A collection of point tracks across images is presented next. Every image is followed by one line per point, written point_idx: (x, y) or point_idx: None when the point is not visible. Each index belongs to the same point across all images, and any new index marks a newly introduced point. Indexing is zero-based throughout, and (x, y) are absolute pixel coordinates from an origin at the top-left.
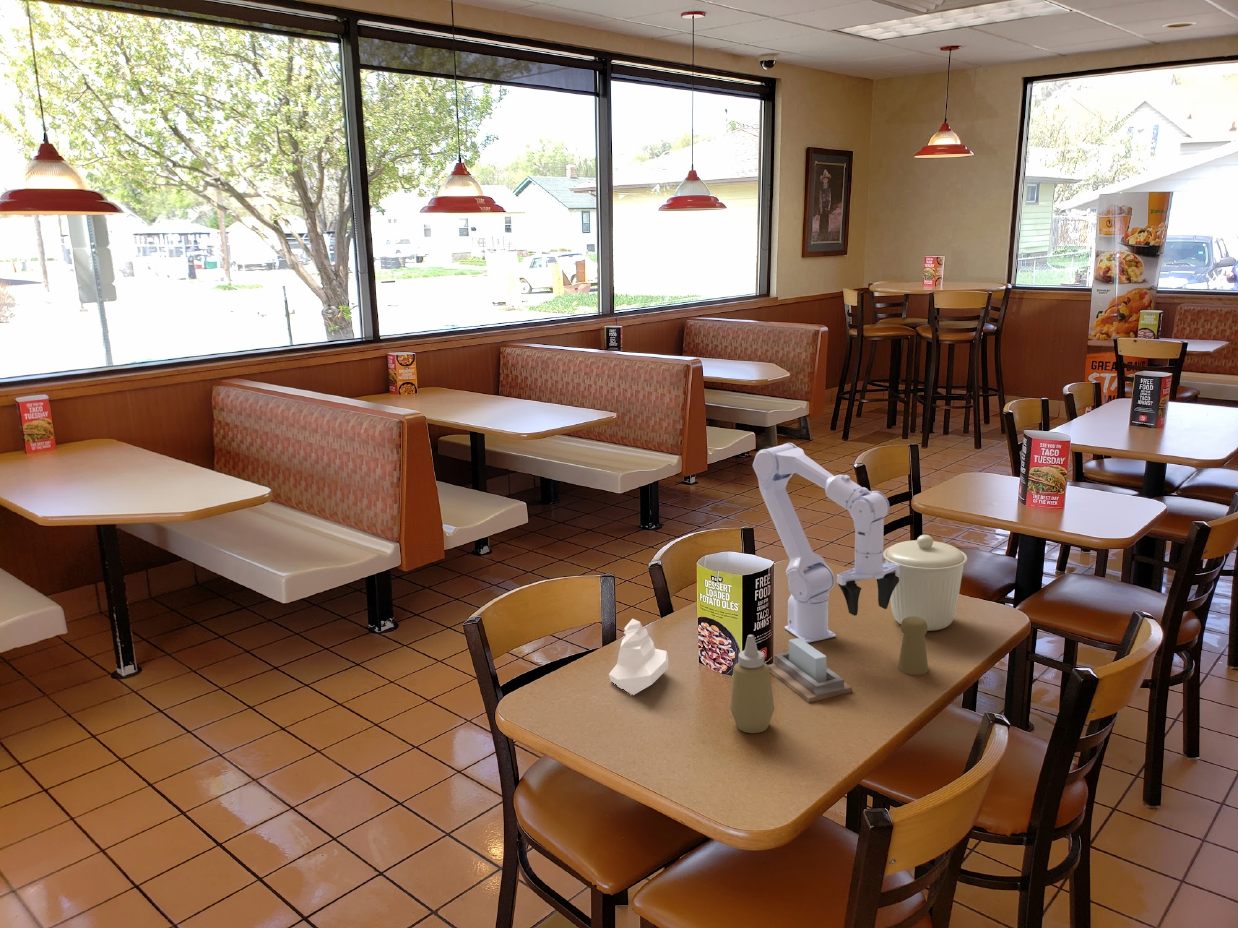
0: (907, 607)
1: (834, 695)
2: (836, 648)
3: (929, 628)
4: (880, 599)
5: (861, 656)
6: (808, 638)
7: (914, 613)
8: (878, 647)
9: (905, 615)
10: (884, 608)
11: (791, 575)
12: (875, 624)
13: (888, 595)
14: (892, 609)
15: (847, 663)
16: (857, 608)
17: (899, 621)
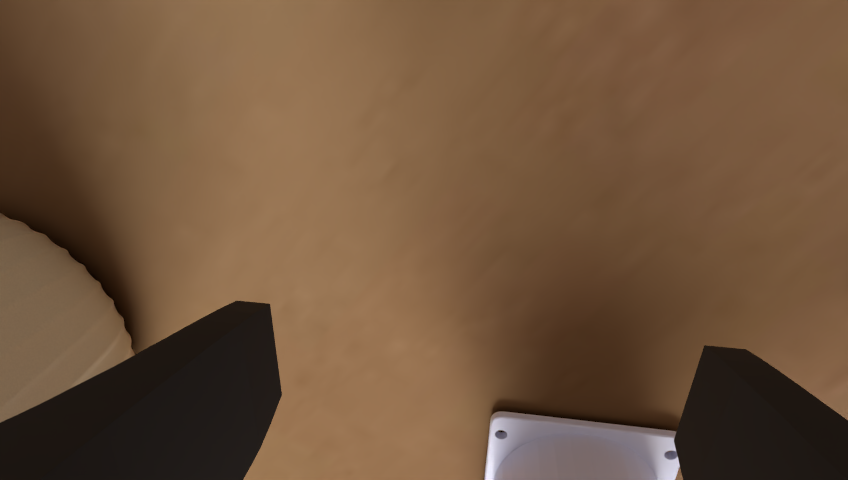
0: (19, 369)
1: None
2: (588, 319)
3: (12, 220)
4: (234, 445)
5: (543, 172)
6: (647, 455)
7: (11, 312)
8: (376, 216)
9: (76, 344)
10: (268, 309)
11: None
12: None
13: (100, 411)
14: None
15: (695, 136)
16: (782, 403)
17: (129, 354)
